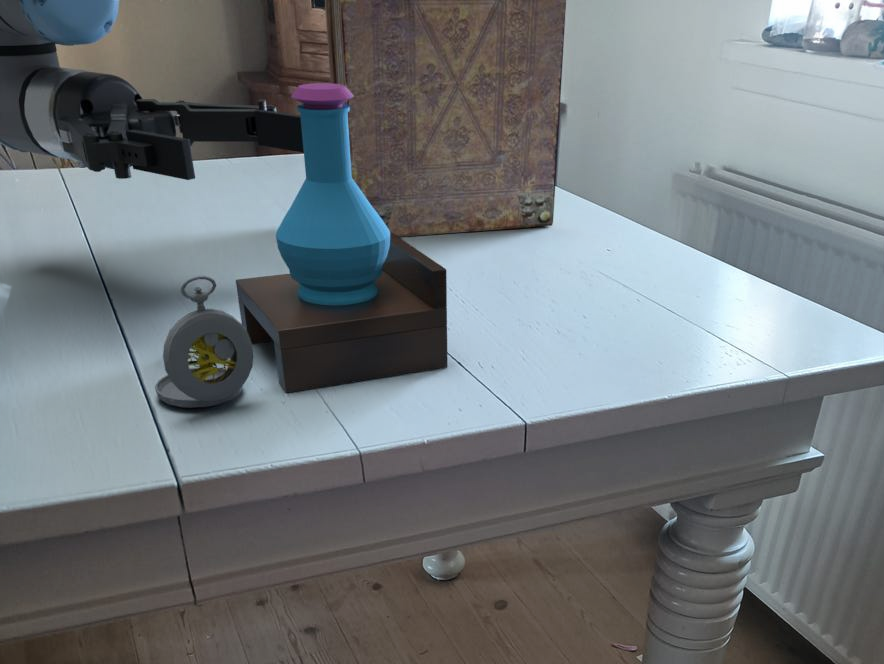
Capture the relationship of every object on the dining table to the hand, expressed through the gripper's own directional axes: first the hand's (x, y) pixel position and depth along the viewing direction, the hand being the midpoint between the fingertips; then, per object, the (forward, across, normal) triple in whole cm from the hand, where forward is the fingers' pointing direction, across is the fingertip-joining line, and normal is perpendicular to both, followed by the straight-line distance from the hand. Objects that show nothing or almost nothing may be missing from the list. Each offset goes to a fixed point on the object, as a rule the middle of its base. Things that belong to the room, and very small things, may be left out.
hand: (254, 147), depth 75 cm
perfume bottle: (+8, 0, -10) cm, 13 cm away
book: (-12, -41, -15) cm, 46 cm away
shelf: (+8, 0, -15) cm, 17 cm away
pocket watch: (+6, +14, -15) cm, 22 cm away
